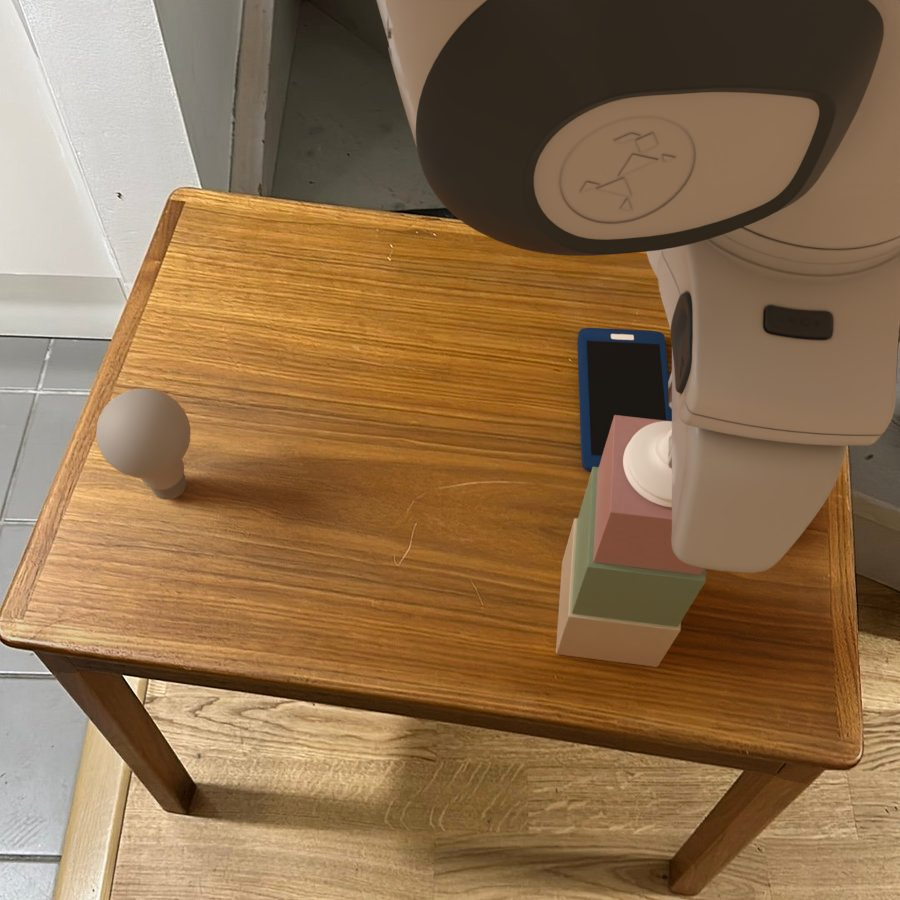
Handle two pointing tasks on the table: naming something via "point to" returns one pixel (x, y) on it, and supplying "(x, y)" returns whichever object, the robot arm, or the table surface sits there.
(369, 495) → the table surface
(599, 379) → the cell phone
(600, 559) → the block stack
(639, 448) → the chess piece
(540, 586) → the table surface
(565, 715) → the table surface
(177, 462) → the lightbulb
